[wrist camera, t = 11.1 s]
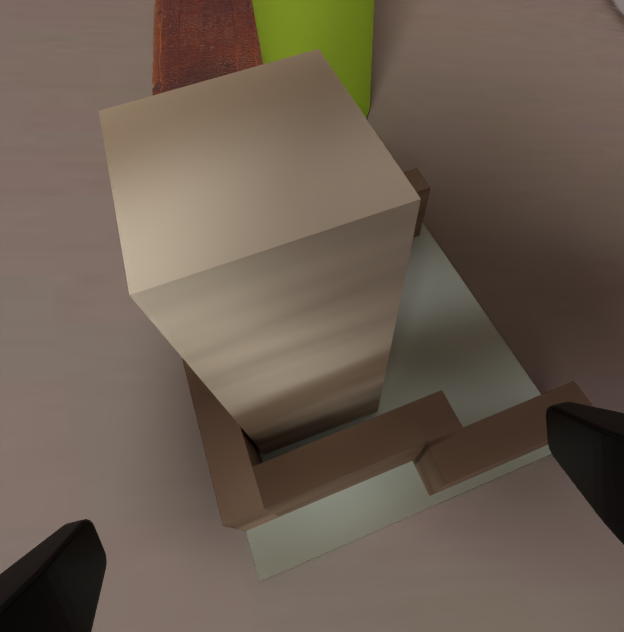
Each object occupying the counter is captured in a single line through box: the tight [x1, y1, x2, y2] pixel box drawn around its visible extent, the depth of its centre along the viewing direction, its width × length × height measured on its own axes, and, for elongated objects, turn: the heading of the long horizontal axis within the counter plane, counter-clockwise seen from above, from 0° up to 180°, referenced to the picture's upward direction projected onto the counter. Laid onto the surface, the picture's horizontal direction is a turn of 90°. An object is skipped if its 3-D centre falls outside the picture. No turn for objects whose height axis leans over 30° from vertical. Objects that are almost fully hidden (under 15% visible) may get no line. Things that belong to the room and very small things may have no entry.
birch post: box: [99, 49, 421, 454], centre depth 12 cm, size 4×4×11 cm
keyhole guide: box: [182, 169, 593, 581], centre depth 16 cm, size 12×12×3 cm
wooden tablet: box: [152, 0, 263, 95], centre depth 32 cm, size 27×10×2 cm, turn 6°
